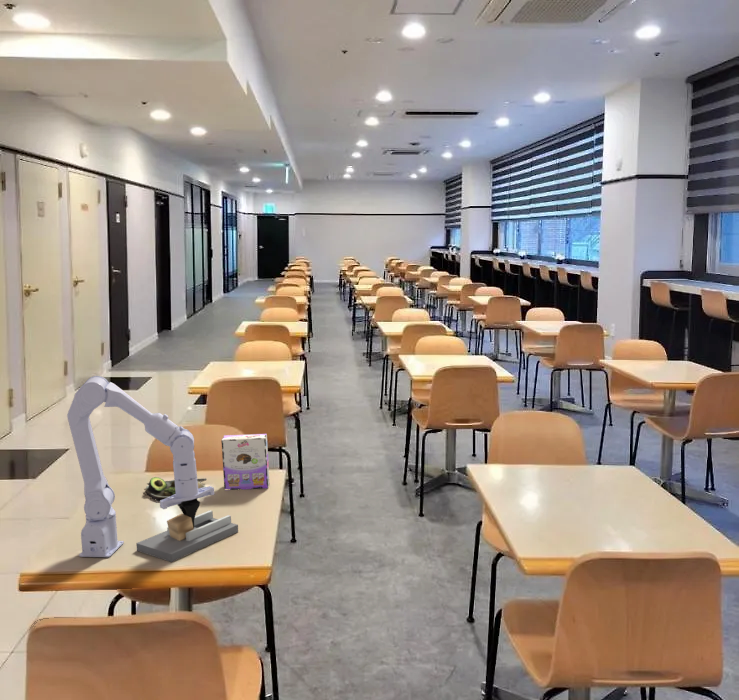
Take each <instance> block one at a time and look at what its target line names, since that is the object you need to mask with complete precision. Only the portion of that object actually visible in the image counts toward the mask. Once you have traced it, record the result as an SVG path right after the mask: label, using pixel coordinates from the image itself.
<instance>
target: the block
mask: <svg viewBox="0 0 739 700" xmlns="http://www.w3.org/2000/svg"><path fill="white" fill-rule="evenodd" d="M166 523H167V527H168V528H169V533H170V537H172V538H175V539H177V540H179V541H181V540H183V539H185V538H186V533H187V532H189V531H192V530H194V528H193V523H192V519H191V517H189V516H186V515H184V514H183V513H180V514H178V515H175V516H174V517H171V518H170V519H167V520H166Z"/></svg>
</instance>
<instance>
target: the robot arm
mask: <svg viewBox="0 0 739 700" xmlns="http://www.w3.org/2000/svg"><path fill="white" fill-rule="evenodd" d="M103 403H104V405H103V407H105V408H113V407H117V408H119V409H120V410H122V411H123V412H125V413H127V414H128V415H130V416H131V417H133V418H134V419H136V420H137V421H139V422H140V423H142V424H143V425H144V430H145V432H146V433H148V434H149V435H151V436H152V437H153V438H155V439H156V440H157V441H159V442H160V443H161V444H162V445H165V446H167V447H169V449H170V452H171V453H172V458H173V459H172V468H173V469H172V470H173V478H174V479H173V480H175V491H176V494H174V495H172V496H170V497H168V498H165V499H163V500H160V501H159V505H160V506H159V507H160V509H162V510H166V509H168V508H170V507H173V506H178V507H179V509H180V511H181V512H182V514H184V515H186V516H189V517H191V519H192V523H193V528H194V519H195V516H197V515H196V514H197V512H198V509H199V508H200V505H201V502H200V501H199V499H201V498H205V497H207V496H214V495H215V488H214V487H213V486H211V485H209V486H206V487H204V488H198V481H197V479H198V474H197V473H198V471H197V462H196V461H197V460H196V458H195V455H196V454H195V451H194V449H195V437H194V435H193V433H192V432H190V430H189V429H186V428H184V427H183V426H182V425H180V426H178V425H177V424H176V423H175V422H173V421H172V420H171V419H169V415H168V414H166V413H164V414H162V413H161V412H155V413H153V412H151V411H150V410H148V409H147V408H146V407H144V406H143V405H142V404H141V403H140V402H138V401H137V400H136V399H134V398H133V397H132V396H131V395H129V394H128V393H127V392H125V390H123V389H122V388H120V387H119V386H118V385H116V384H115V383H113V382H111V381H108V379H106V378H105V377H104V376H100V375H94V376H91V377H89V378H88V379H87V380H86V381H85V382H84V383H83V384H82V385H81V387H80V388H79V389H77V391H76V392H75V393H74V397H73V399H72V401H71V404H70V407H69V409H68V412H67V415H66V417H67V421H68V426H69V428H70V429H69V431H70V432H71V437H72V441H73V444H74V448H75V449H74V450H75V452H76V456H77V459H78V465H79V468H80V472H81V476H82V479H83V483H84V484H83V487H84V488H83V489H84V490H83V494H84V498H85V500H84V501H85V502H84V505H83V510H84V514H85V524H84V526H83V528H82V529H81V532H80V539H81V550H82V551H81V552H80V553H79V554H78V556H79V557H80V558H83V557H84V558H110V557H112V555H114V553H115V552H116V551H117V550H118V549H119V548H121V546H122V545H123V544H124V543H125V541H124V540H118V529H117V528H118V527H117V516H116V515H117V513H116V512H117V511H116V510H115V509H114V508H113V506H112V505H113V504H114V501H115V498H116V494H115V491H114V489H113V488H112V487H110V485H109V482H108V479H107V478H106V476H105V474H104V470H103V466H102V462H101V458H100V455H99V450H98V447H97V444H96V443H97V442H96V439H95V434H94V430H93V427H92V424H91V420H90V416H91V415H92V413H93V412H94V410H95V409H97V408H98V407H100V406H101V405H102V404H103Z"/></svg>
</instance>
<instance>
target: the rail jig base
mask: <svg viewBox="0 0 739 700" xmlns="http://www.w3.org/2000/svg"><path fill="white" fill-rule="evenodd" d="M213 511H214V510H210V509H209V510H207V511H205V512H202V513H200V514H197V515H195V519H194V530H192V531H189V532H187V533H186V538H185V539H183V540H181V541H179V540H177V539H175V538H172V537H170V533H169V528H168V526H167V527H166V530H165V531H163V532H161V533H158V534H156V535H152V536H150V537H148V538H146V539H143V540H140V541H138V542H136V545H135V546H136V551H137V552H140V553H143V554H146V555H149V556H152V557H155V558H158V559H160V560H165V561H167V562H170V563H172V562H175V561H177V560H179V559H181V558H183V557H186V556H187V555H190V554H192V553H194V552H196V550H197V551H199V550H202V549H203V547H204V548H205V546H206V547H208V546H210V545H212V544H214V542H215V543H216V541H217V542H219V541H221V540H223V539H226V538H228V537H230V536H232V535H235V534H237V533H238V532H239V524H236V523H234V522H232V515H229V514H227V515H226V516H221V517H220V518H214V514H213ZM209 544H210V545H209ZM207 545H208V546H207ZM198 549H199V550H198Z"/></svg>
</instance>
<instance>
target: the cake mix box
mask: <svg viewBox="0 0 739 700" xmlns="http://www.w3.org/2000/svg"><path fill="white" fill-rule="evenodd" d="M220 442H221V452H222V453H221V456H222V470H223V490H224V489H230V490H229V491H235V490H236V491H240V489H242V490H259V489H261V490H265V489H269V486H270V468H269V467H270V466H269V462H270V461H269V451H268V450H269V449H268V448H269V447H268V446H269V445H268V435H267V433H252V434H227V435H226V434H223V437H222V439H221V441H220ZM238 489H239V490H238Z"/></svg>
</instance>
